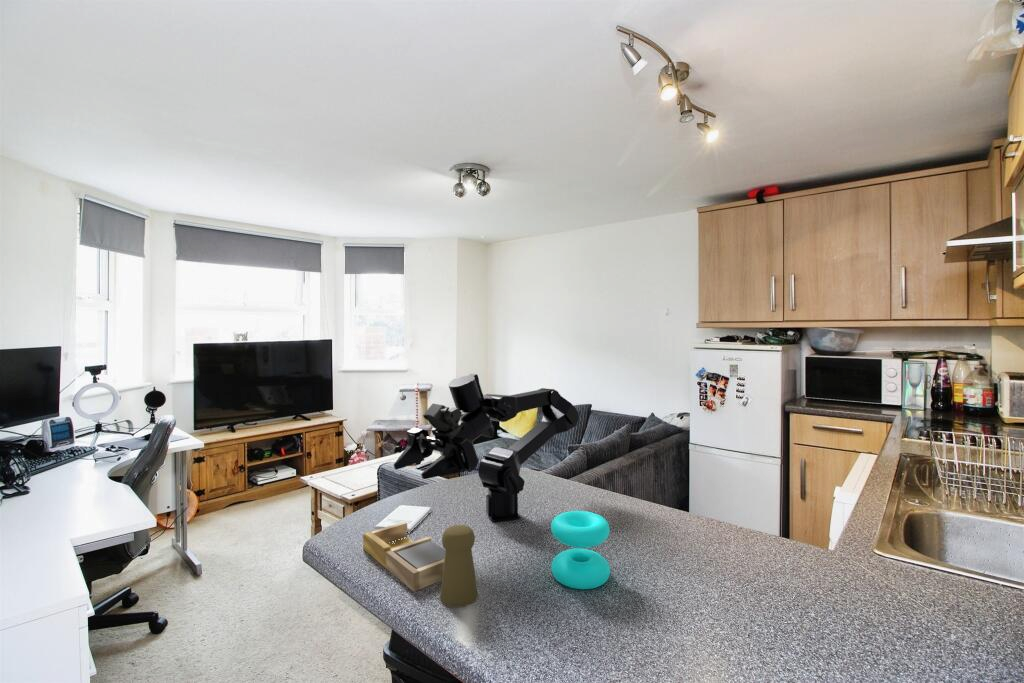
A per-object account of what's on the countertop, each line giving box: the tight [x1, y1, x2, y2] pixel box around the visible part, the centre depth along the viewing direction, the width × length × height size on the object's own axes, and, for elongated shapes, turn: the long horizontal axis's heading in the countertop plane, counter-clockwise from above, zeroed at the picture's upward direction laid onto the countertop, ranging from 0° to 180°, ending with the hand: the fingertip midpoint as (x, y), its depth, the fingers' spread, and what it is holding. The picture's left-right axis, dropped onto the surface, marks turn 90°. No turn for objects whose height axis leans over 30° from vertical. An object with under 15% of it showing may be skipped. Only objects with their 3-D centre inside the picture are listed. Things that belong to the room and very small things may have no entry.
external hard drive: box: [374, 504, 432, 533], centre depth 106 cm, size 2×8×12 cm
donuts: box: [550, 510, 611, 590], centre depth 80 cm, size 10×10×10 cm
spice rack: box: [362, 522, 446, 592], centre depth 87 cm, size 9×20×4 cm, turn 40°
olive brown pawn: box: [439, 524, 479, 608], centre depth 75 cm, size 6×6×11 cm
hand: (408, 471), depth 89 cm, fingers open, 9 cm apart
